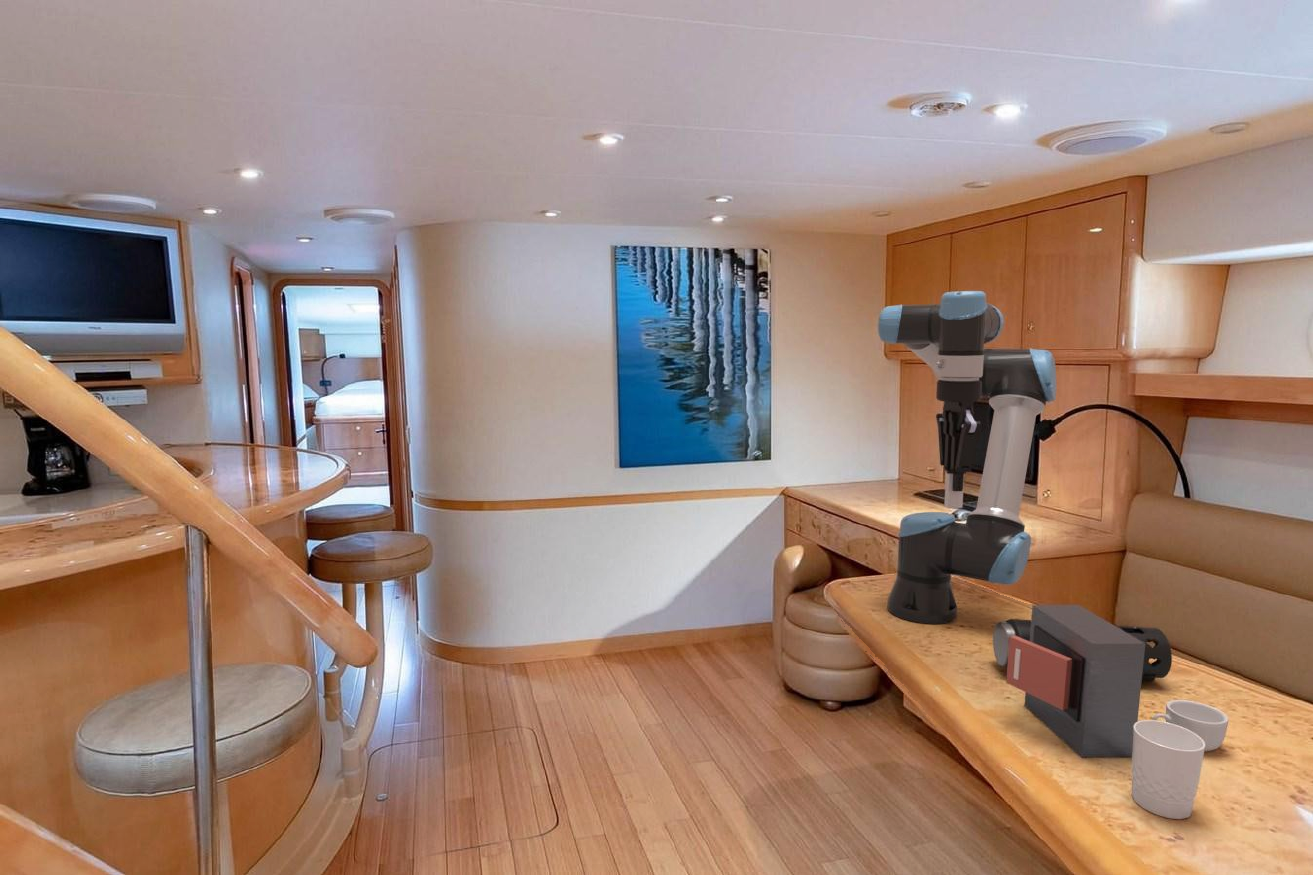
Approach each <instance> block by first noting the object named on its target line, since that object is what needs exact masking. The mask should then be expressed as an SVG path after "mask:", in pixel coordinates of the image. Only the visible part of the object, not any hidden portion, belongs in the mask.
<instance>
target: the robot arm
mask: <svg viewBox="0 0 1313 875" xmlns="http://www.w3.org/2000/svg"><path fill="white" fill-rule="evenodd" d="M1004 324H1005V321H1004V316H1003V314H1002V312H1001V311H1000V309H998V308H997V307H996V306H994V305H992V304H990V303H988V302H987V294H986V293H985V292H984V291H982V290H979V291H978V290H964V291H963V290H962V291H948V292H945V293H943V294H942V296H941V298H940V304H898V305H897V304H896V305H889V306H886V307H884V308H883V309H882V310H881V311H880V314H879V317H878V323H877V330H878V331H877V332H878V335H879V338H880V340H881V341H882V342H883V343H886V344H894V345H896V344H902V345H904V346H905V347H906V348H907V349H909V350H910V351H911V352H913V354H915V355H916V356H917V357H918V358H919V359H920V360H922V361H923V363H925V364H926V365H927V366H929V367H930V368H931V369H932V372H933V375H934V376H935V377H936V379H937V381H936V393H935V394H936V396H935V397H936V400H937V401H940V402H943V407H942V413H936V415H935V418H936V423H937V433H938V445H939V446H938V447H939V452H938V453H939V462H940V463H939V464H940V466H942V467H943V466H944V467H943V470H944V471H945V483H944V484H945V486H944V503H943V504H944V507H945V508H946V509H962V508H963V505H964V504H963V502H964V484H965V483H964V482H965V474H966V473H971V472H972V468H973V462H974V456H975V450H976V445H977V439H978V434H979V432H980V430H981V426H982V422H981V421H978V420H977V421H976V420H975V419H974V406H973V405H974V403H975V402H976V403H977V402H980V401H981V400H982V399H988V404H989V406H990V407H991V408H992V409H993V410H994V411H993V417H992V423H991V427H990V428H991V429H990V432H989V438H988V443H987V449H986V456H985V460H984V465H983V470H982V471H983V472H982V476H981V482H980V486H979V493H978V498H977V503H976V508H975V509H974V510H973V511H971V512H969V513H968V514H967V517H966V522H956V521H957V519H956V518H955V514H953V513H949V512H945V511H944V512H942V511H941V512H940V511H924V512H923V511H922V512H915V513H910V514H907V515H905V516H904V517H902V519H901V520H900V524H899V533H898V535H897V536H898V548H897V549H898V550H897V572H896V578H895V581H894V583H893V586H892V588H891V591H890V592H889V596H888V598H887V606H886V607H887V610H888V612H890V614H892V615H893V616H896V617H898V618H901V619H903V620H907V621H910V622H915V623H920V624H932V625H933V624H934V625H937V624H947V623H951V622H954V621H955V620H956V619H957V617H958V616H957V615H958V605H957V602H956V599H955V598H956V597H955V595H954V591H953V587H952V583H951V582H952V580H951V578H952V576H953V575H954V576H958V577H963V578H968V579H973V580H978V581H984V582H989V583H990V584H998V585H999V584H1000V585H1007V586H1008V585H1009V586H1010V585H1014V584H1016V583H1017V582H1018V581H1019V580H1020V578H1021V577H1022V576H1023V573H1024V572H1025V568H1026V566H1027V564H1028V559H1029V556H1030V552H1031V550H1030V549H1031V545H1032V539H1031V538H1032V537H1031V535H1030V534H1029V533H1027V532H1026V531H1025V528H1026V525H1025V523H1024V521H1022V520H1021V519H1020V510H1021V504H1022V499H1023V493H1024V489H1025V488H1024V486H1025V481H1026V475H1027V469H1028V464H1029V459H1030V452H1031V446H1032V441H1033V436H1034V431H1035V430H1034V429H1035V424H1036V417H1037V415H1040V414H1041V413H1043V412H1044V411H1045V410H1046V404H1047V402H1048V403H1051V402H1054V401H1055V400H1056V396H1057V370H1056V369H1057V368H1056V362H1055V357H1054V355H1053V354H1052V352H1050V351H1049V350H1047V349H1035V348H1034V349H1033V348H1031V347H1029V348H984V346H985V345H986V344H987V343H990V342H992V341H994V340H996V339H997V338H998V337H999V336H1000V334H1001V333H1002V331H1003V329H1004Z"/></svg>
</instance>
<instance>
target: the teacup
mask: <svg viewBox="0 0 1313 875" xmlns="http://www.w3.org/2000/svg"><path fill="white" fill-rule="evenodd" d="M1159 718H1163V719H1164V720H1165V722H1168V723H1171V724H1175V725H1178V726H1181V727H1183V728H1186V729H1188V730H1190V731H1192V732H1194V733H1195V734H1197V735H1198V736H1199V737H1201V738H1202V739H1203V741H1204V742H1205V750H1204V752H1211V751H1214V750H1216V749H1218V748H1219V747H1221V745H1222V744H1223V743H1224V740H1225V737H1226V735H1227V730H1228V725H1229V717H1228V715H1227V714H1226V712H1225V713H1224V712H1223V711H1221V710H1220V709H1218V708H1216V707H1214V706H1211V705H1210V704H1209V705H1208V704H1205V703H1202V702H1198V701H1195V700H1194V701H1193V700H1189V699H1171V700H1168V701H1167V702H1166V704H1165V713H1156V714H1155V715H1154V716H1153V718H1152V720H1157V721H1158V719H1159Z"/></svg>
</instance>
